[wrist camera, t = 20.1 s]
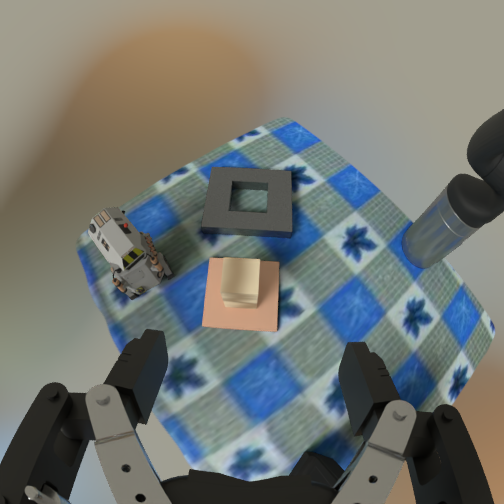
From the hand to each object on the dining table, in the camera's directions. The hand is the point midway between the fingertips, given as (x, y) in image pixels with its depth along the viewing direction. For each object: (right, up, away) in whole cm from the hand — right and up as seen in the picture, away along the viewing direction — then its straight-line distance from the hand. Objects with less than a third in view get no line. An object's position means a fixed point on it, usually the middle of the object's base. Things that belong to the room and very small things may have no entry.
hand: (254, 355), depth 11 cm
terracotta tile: (-2, -3, +35) cm, 35 cm away
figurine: (-20, +1, +36) cm, 41 cm away
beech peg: (-2, -2, +34) cm, 34 cm away
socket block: (-1, +14, +42) cm, 44 cm away
